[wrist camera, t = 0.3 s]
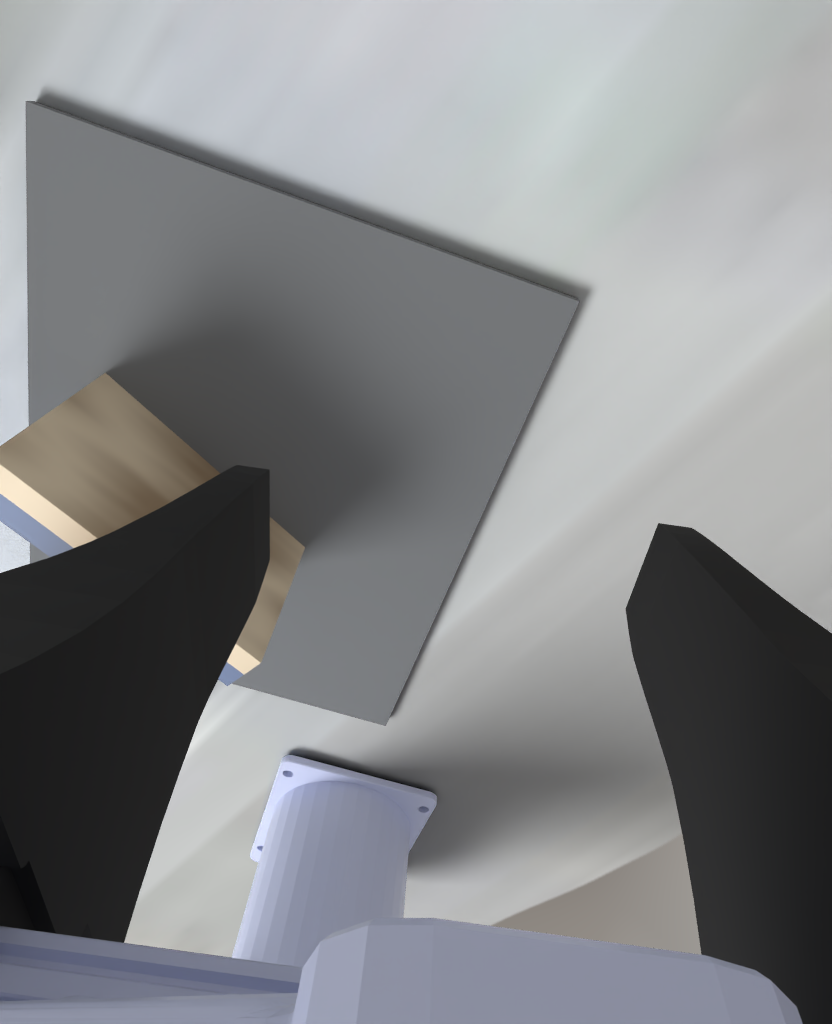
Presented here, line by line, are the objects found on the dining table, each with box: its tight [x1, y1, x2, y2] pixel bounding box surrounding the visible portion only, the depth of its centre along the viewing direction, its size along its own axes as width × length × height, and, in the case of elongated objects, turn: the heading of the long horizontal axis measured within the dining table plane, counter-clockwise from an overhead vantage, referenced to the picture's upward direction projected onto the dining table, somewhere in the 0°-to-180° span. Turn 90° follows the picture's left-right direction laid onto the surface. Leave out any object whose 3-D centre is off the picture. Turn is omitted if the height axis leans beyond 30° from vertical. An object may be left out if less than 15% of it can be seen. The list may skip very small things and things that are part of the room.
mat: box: [26, 101, 579, 726], centre depth 23 cm, size 20×16×1 cm
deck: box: [0, 373, 305, 686], centre depth 20 cm, size 9×2×6 cm, turn 42°
